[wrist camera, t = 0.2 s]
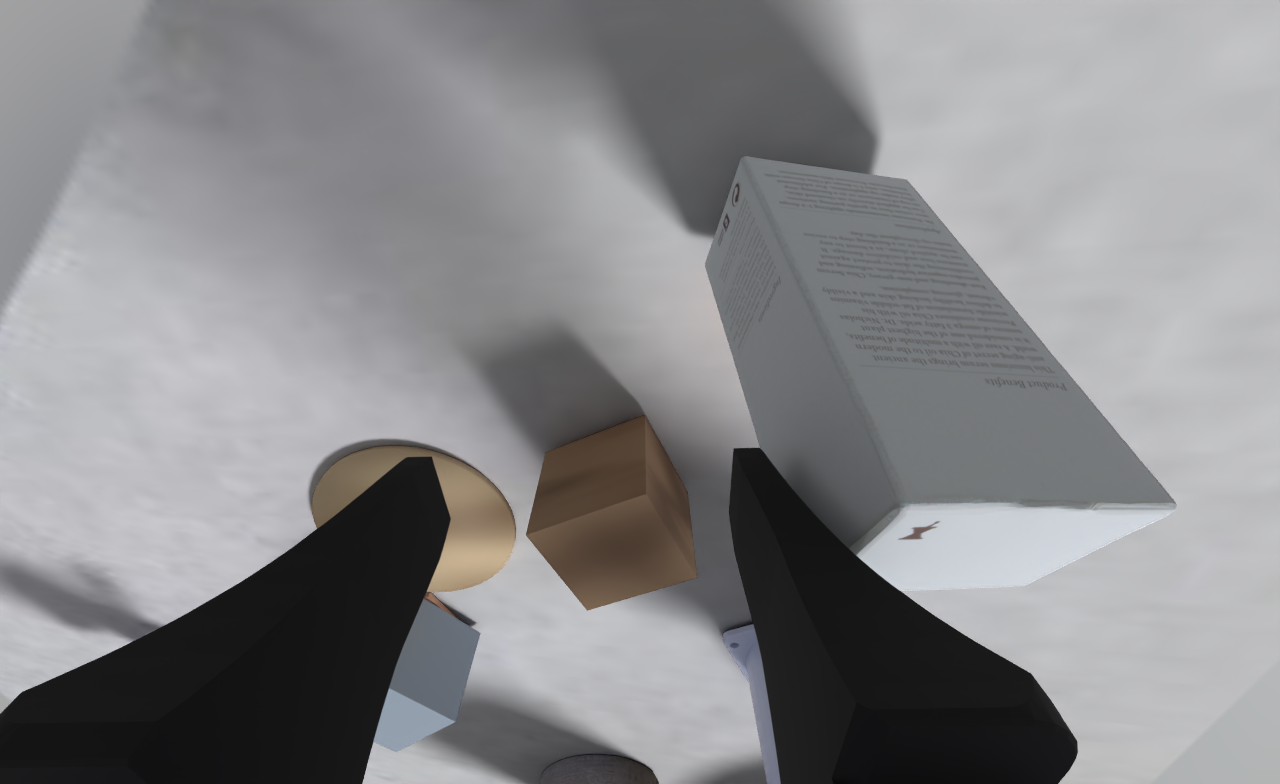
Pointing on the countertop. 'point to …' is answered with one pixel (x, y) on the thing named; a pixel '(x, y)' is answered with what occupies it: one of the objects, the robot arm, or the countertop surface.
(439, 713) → the slate-blue block
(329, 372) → the countertop surface
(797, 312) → the skincare box
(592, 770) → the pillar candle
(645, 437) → the walnut block
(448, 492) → the cork coaster
